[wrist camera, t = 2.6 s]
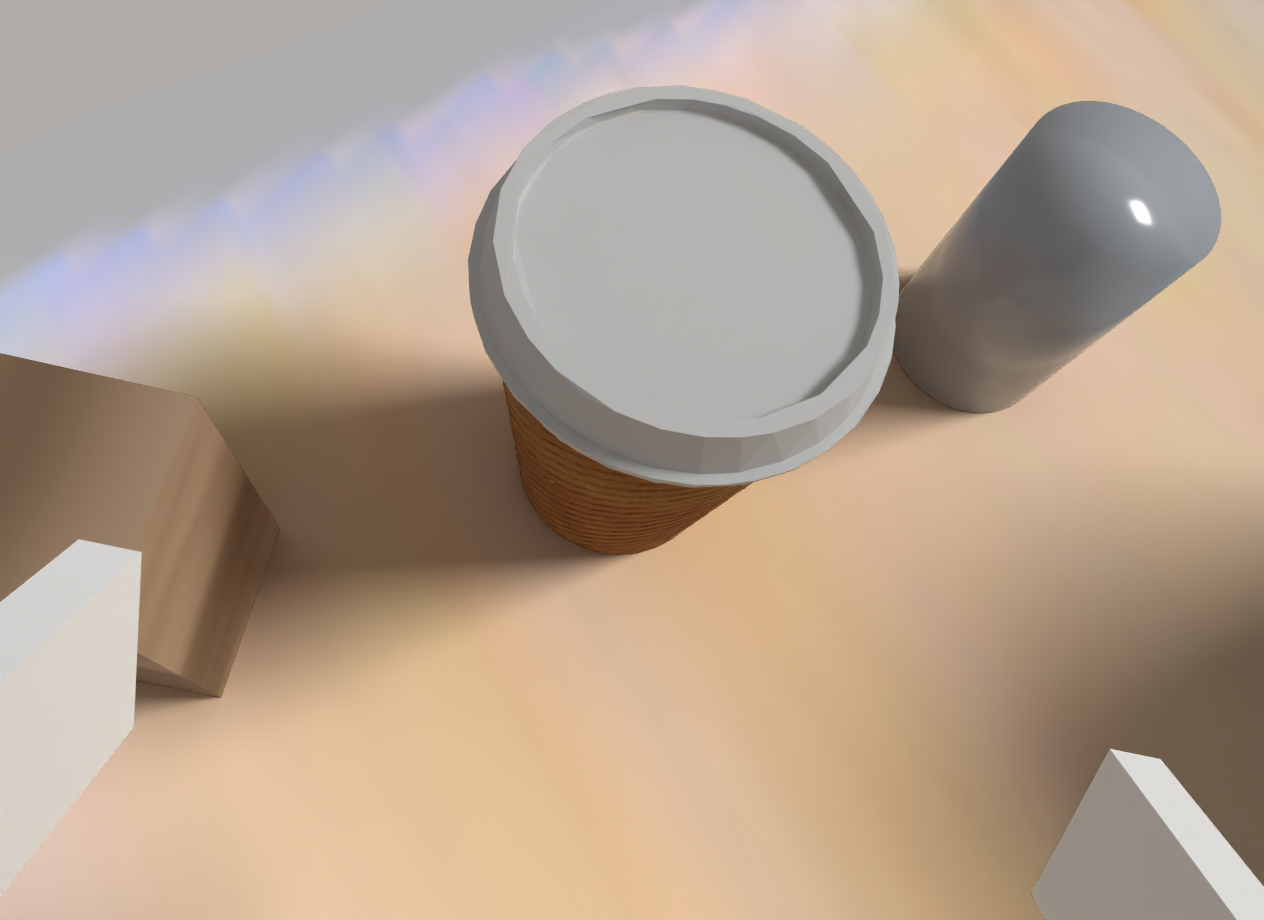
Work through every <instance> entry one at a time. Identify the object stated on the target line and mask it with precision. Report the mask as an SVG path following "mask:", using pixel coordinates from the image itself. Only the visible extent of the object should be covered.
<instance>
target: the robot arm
mask: <svg viewBox="0 0 1264 920" xmlns="http://www.w3.org/2000/svg"><path fill="white" fill-rule="evenodd" d="M141 556H142V552H139V551H134V550H129V549H124V548H119V547H114V546H110V545H105V544H100V543H95V542H90V541H85V540H80V539H78V540H77V541H76V542H75V543H73V544H72V545H71V546H70V547H68V548H67V549H66V550H65V551H63V552H62V553H61V554H60V555H58V556H57V557H56V558H55V559H54V560H52V561H51V562H50V563H49V564H47V565H46V566H45V567H44V568H42V569H41V570H40V571H39V572H37V573H36V574H35V575H34V576H32V577H31V578H30V579H29V580H27V581H26V582H25V583H24V584H22V585H21V586H20V587H19V588H17V589H16V590H15V591H14V592H12V593H11V594H10V595H9V596H7V597H6V598H5V599H4V600H2V601H1V602H0V897H1V895H2V894H3V893H4V892H5V890H6V889H7V888H8V887H9V885H10V884H11V883H12V881H13V880H14V879H15V878H16V876H17V875H18V874H19V873H20V871H21V870H22V869H23V867H24V866H25V865H26V864H27V862H28V861H29V860H30V859H31V857H32V856H33V855H34V853H35V852H36V851H37V850H38V848H39V847H40V846H41V845H42V843H43V842H44V841H45V839H46V838H47V837H48V836H49V834H50V833H51V832H52V831H53V829H54V828H55V827H56V825H57V824H58V823H59V822H60V820H61V819H62V818H63V817H64V815H65V814H66V813H67V812H68V810H69V809H70V808H71V806H72V805H73V804H74V803H75V801H76V800H77V799H78V798H79V796H80V795H81V794H82V792H83V791H84V790H85V789H86V787H87V786H88V785H89V784H90V782H91V781H92V780H93V778H94V777H95V776H96V775H97V773H98V772H99V771H100V770H101V768H102V767H103V766H104V764H105V763H106V762H107V761H108V759H109V758H110V757H111V756H112V754H113V753H114V752H115V751H116V749H117V748H118V747H119V745H120V744H121V743H122V742H123V740H124V739H125V738H126V737H127V735H128V734H129V733H130V731H131V730H132V729H133V728H134V712H135V689H136V667H137V645H138V623H139V601H140V579H141ZM1031 894H1032V896H1033V898H1034V900H1035V902H1036V904H1037V906H1038V908H1039V910H1040V912H1041V914H1042V916H1043V918H1044V920H1264V886H1263V885H1262V884H1261V883H1260V881H1259V880H1258V879H1257V878H1256V877H1255V875H1254V874H1253V873H1252V872H1251V870H1250V869H1249V868H1248V867H1247V865H1246V864H1245V863H1244V862H1243V860H1242V859H1241V858H1240V857H1239V855H1238V854H1237V853H1236V852H1235V851H1234V849H1233V848H1232V847H1231V846H1230V844H1229V843H1228V842H1227V841H1226V839H1225V838H1224V837H1223V836H1222V834H1221V833H1220V832H1219V831H1218V829H1217V828H1216V827H1215V826H1214V825H1213V823H1212V822H1211V821H1210V820H1209V818H1208V817H1207V816H1206V815H1205V813H1204V812H1203V811H1202V810H1201V808H1200V807H1199V806H1198V805H1197V803H1196V802H1195V801H1194V800H1193V799H1192V797H1191V796H1190V795H1189V794H1188V792H1187V791H1186V790H1185V789H1184V787H1183V786H1182V785H1181V784H1180V782H1179V781H1178V780H1177V779H1176V777H1175V776H1174V775H1173V774H1172V773H1171V771H1170V770H1169V769H1168V768H1167V766H1166V765H1165V764H1164V763H1163V761H1162V760H1161V759H1158V758H1153V757H1148V756H1143V755H1138V754H1133V753H1128V752H1123V751H1119V750H1114V749H1109V751H1108V753H1107V755H1106V757H1105V759H1104V760H1103V762H1102V764H1101V766H1100V768H1099V770H1098V771H1097V773H1096V775H1095V777H1094V779H1093V781H1092V783H1091V784H1090V786H1089V788H1088V790H1087V792H1086V794H1085V795H1084V797H1083V799H1082V801H1081V803H1080V805H1079V807H1078V808H1077V810H1076V812H1075V814H1074V816H1073V818H1072V819H1071V821H1070V823H1069V825H1068V827H1067V829H1066V830H1065V832H1064V834H1063V836H1062V838H1061V840H1060V842H1059V843H1058V845H1057V847H1056V849H1055V851H1054V853H1053V854H1052V856H1051V858H1050V860H1049V862H1048V864H1047V866H1046V867H1045V869H1044V871H1043V873H1042V875H1041V877H1040V878H1039V880H1038V882H1037V884H1036V886H1035V888H1034V889H1033V891H1032V893H1031Z"/></svg>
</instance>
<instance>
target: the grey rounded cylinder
mask: <svg viewBox="0 0 1264 920" xmlns="http://www.w3.org/2000/svg"><path fill="white" fill-rule="evenodd" d="M1220 225H1221V209H1220V204H1219V199H1218V196H1217V193H1216V190H1215V187H1214V185H1213V183H1212V181H1211V178H1210V176H1209V175H1208V173H1207V171H1206V170H1205V168H1204V166H1203V165H1202V164H1201V162H1200V161H1199V160H1198V158H1197V157H1196V156H1195V154H1194V153H1193V152H1192V151H1191V150H1190V149H1189V148H1188V147H1187V146H1186V145H1185V144H1184V143H1183V142H1182V141H1181V140H1180V139H1179V138H1178V137H1177V136H1176V135H1174V134H1173V133H1172V132H1170V131H1169V130H1168V129H1167V128H1165V127H1164V126H1162V125H1161V124H1159V123H1158V122H1156V121H1154V120H1153V119H1151V118H1149V117H1147V116H1145V115H1143V114H1141V113H1139V112H1136V111H1134V110H1132V109H1129V108H1126V107H1123V106H1120V105H1115V104H1111V103H1106V102H1098V101H1080V102H1072V103H1069V104H1065V105H1062V106H1059V107H1057V108H1055V109H1053V110H1051V111H1050V112H1048V113H1047V114H1045V115H1044V116H1043V117H1042V118H1041V119H1040V120H1039V121H1038V122H1037V123H1036V124H1035V126H1034V127H1033V128H1032V129H1031V130H1030V132H1029V133H1028V134H1027V135H1026V137H1025V138H1024V139H1023V140H1022V142H1021V143H1020V144H1019V145H1018V147H1017V148H1016V149H1015V150H1014V151H1013V153H1012V154H1011V155H1010V156H1009V158H1008V159H1007V160H1006V161H1005V163H1004V164H1003V165H1002V166H1001V168H1000V169H999V170H998V171H997V173H996V174H995V175H994V176H993V177H992V179H991V180H990V181H989V182H988V184H987V185H986V186H985V187H984V189H983V190H982V191H981V192H980V194H979V195H978V196H977V197H976V198H975V200H974V201H973V202H972V203H971V205H970V206H969V207H968V208H967V210H966V211H965V212H964V213H963V215H962V216H961V217H960V218H959V219H958V221H957V222H956V223H955V224H954V226H953V227H952V228H951V229H950V231H949V232H948V233H947V234H946V236H945V237H944V238H943V239H942V241H941V242H940V243H939V244H938V245H937V247H936V248H935V249H934V250H933V252H932V253H931V254H930V255H929V257H928V258H927V259H926V260H925V262H924V263H923V264H922V265H921V266H920V268H919V269H918V270H917V271H916V273H915V274H914V275H913V276H912V278H911V279H910V280H909V281H908V283H907V284H906V285H905V286H904V287H903V289H902V290H901V291H900V293H899V302H898V307H897V312H896V317H895V323H896V328H895V336H894V344H893V351H894V354H895V356H896V358H897V360H898V362H899V364H900V366H901V367H902V369H903V370H904V371H905V373H906V374H907V376H908V377H909V378H910V379H911V380H912V381H913V382H914V383H915V384H916V385H917V386H918V387H919V388H920V389H921V390H922V391H923V392H925V393H926V394H928V395H929V396H930V397H932V398H933V399H935V400H937V401H939V402H941V403H942V404H945V405H947V406H949V407H952V408H955V409H958V410H961V411H966V412H972V413H991V412H996V411H1001V410H1003V409H1006V408H1009V407H1011V406H1012V405H1014V404H1016V403H1017V402H1019V401H1020V400H1021V399H1023V398H1024V397H1025V396H1026V395H1028V394H1029V393H1030V392H1032V391H1033V390H1034V389H1036V388H1037V387H1038V386H1039V385H1041V384H1042V383H1043V382H1045V381H1046V380H1047V379H1049V378H1050V377H1051V376H1052V375H1054V374H1055V373H1056V372H1058V371H1059V370H1060V369H1062V368H1063V367H1064V366H1065V365H1067V364H1068V363H1069V362H1071V361H1072V360H1073V359H1074V358H1076V357H1077V356H1078V355H1080V354H1081V353H1082V352H1084V351H1085V350H1086V349H1087V348H1089V347H1090V346H1091V345H1093V344H1094V343H1095V342H1097V341H1098V340H1099V339H1100V338H1102V337H1103V336H1104V335H1106V334H1107V333H1108V332H1109V331H1111V330H1112V329H1113V328H1115V327H1116V326H1117V325H1119V324H1120V323H1121V322H1122V321H1124V320H1125V319H1126V318H1128V317H1129V316H1130V315H1132V314H1133V313H1134V312H1135V311H1137V310H1138V309H1139V308H1141V307H1142V306H1143V305H1144V304H1146V303H1147V302H1148V301H1150V300H1151V299H1152V298H1154V297H1155V296H1156V295H1157V294H1159V293H1160V292H1161V291H1163V290H1164V289H1165V288H1167V287H1168V286H1169V285H1170V284H1172V283H1173V282H1174V281H1176V280H1177V279H1178V278H1179V277H1181V276H1182V275H1183V274H1185V273H1186V272H1187V271H1189V270H1190V269H1191V268H1192V267H1194V266H1195V265H1196V264H1198V263H1199V262H1200V261H1201V260H1202V259H1204V258H1205V257H1206V256H1207V255H1208V254H1209V252H1210V251H1211V250H1212V249H1213V247H1214V245H1215V243H1216V241H1217V238H1218V235H1219V232H1220Z"/></svg>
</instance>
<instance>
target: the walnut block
mask: <svg viewBox="0 0 1264 920" xmlns="http://www.w3.org/2000/svg"><path fill="white" fill-rule="evenodd" d="M278 532H279V527H278V525H277V524H276V522H275V521H274V519H273V517H272V516H271V514H270V513H269V511H268V509H267V508H266V506H265V505H264V503H263V501H262V500H261V498H260V497H259V495H258V493H257V492H256V490H255V489H254V487H253V485H252V484H251V482H250V481H249V479H248V477H247V476H246V474H245V473H244V471H243V469H242V468H241V466H240V465H239V463H238V461H237V460H236V458H235V457H234V455H233V453H232V452H231V450H230V449H229V447H228V445H227V444H226V442H225V441H224V439H223V437H222V436H221V434H220V433H219V431H218V429H217V428H216V426H215V425H214V423H213V421H212V420H211V418H210V416H209V415H208V413H207V412H206V410H205V408H204V407H203V405H202V404H201V402H200V400H199V399H198V397H194V396H190V395H185V394H181V393H176V392H172V391H167V390H163V389H158V388H154V387H149V386H145V385H141V384H136V383H132V382H127V381H123V380H118V379H114V378H109V377H105V376H100V375H96V374H91V373H87V372H82V371H78V370H73V369H69V368H64V367H60V366H55V365H51V364H46V363H42V362H37V361H33V360H28V359H24V358H19V357H15V356H10V355H6V354H1V353H0V602H1V601H2V600H4V599H5V598H6V597H7V596H9V595H10V594H11V593H12V592H14V591H15V590H16V589H17V588H19V587H20V586H21V585H22V584H24V583H25V582H26V581H27V580H29V579H30V578H31V577H32V576H34V575H35V574H36V573H37V572H39V571H40V570H41V569H42V568H44V567H45V566H46V565H47V564H49V563H50V562H51V561H52V560H54V559H55V558H56V557H57V556H58V555H60V554H61V553H62V552H63V551H65V550H66V549H67V548H68V547H70V546H71V545H72V544H73V543H75V542H76V541H77V540H78V539H80V540H85V541H90V542H95V543H100V544H105V545H110V546H114V547H119V548H124V549H129V550H134V551H139V552H142V556H141V579H140V601H139V623H138V645H137V667H136V681H139V682H144V683H149V684H154V685H160V686H165V687H170V688H175V689H180V690H185V691H191V692H196V693H201V694H206V695H211V696H216V697H221V696H222V693H223V690H224V688H225V685H226V682H227V679H228V676H229V673H230V670H231V667H232V664H233V662H234V659H235V656H236V653H237V650H238V647H239V644H240V641H241V639H242V636H243V633H244V630H245V627H246V624H247V621H248V618H249V616H250V613H251V610H252V607H253V604H254V601H255V598H256V595H257V593H258V590H259V587H260V584H261V581H262V578H263V575H264V572H265V570H266V567H267V564H268V561H269V558H270V555H271V552H272V549H273V547H274V544H275V541H276V538H277V535H278Z"/></svg>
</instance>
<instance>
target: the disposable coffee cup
mask: <svg viewBox="0 0 1264 920" xmlns="http://www.w3.org/2000/svg"><path fill="white" fill-rule="evenodd" d="M468 266H469V290H470V300H471V306H472V310H473V314H474V319H475V322H476V325H477V328H478V331H479V334H480V337H481V340H482V343H483V346H484V349H485V352H486V353H487V355H488V357H489V358H490V360H491V361H492V363H493V365H494V366H495V368H496V369H497V371H498V373H499V374H500V376H501V377H502V379H503V386H504V389H505V395H506V399H507V404H508V410H509V417H510V423H511V426H512V433H513V436H514V441H515V449H516V452H517V458H518V462H519V466H520V475H521V479H522V483H523V487H524V491H525V493H526V494H527V496H528V498H529V500H530V502H531V504H532V505H533V507H534V509H535V510H536V512H537V513H538V514H539V516H540V517H541V518H542V519H543V520H544V522H545V523H546V524H547V525H548V526H550V527H551V528H552V529H553V530H555V531H556V532H557V533H558V534H559V535H561V536H562V537H563V538H565V539H567V540H569V541H571V542H573V543H575V544H577V545H579V546H582V547H584V548H587V549H590V550H593V551H597V552H601V553H610V554H630V553H639V552H642V551H646V550H649V549H653V548H656V547H658V546H660V545H662V544H664V543H666V542H668V541H669V540H671V539H673V538H674V537H675V536H677V535H678V534H679V533H681V532H682V531H683V530H685V529H686V528H688V527H689V526H691V525H692V524H694V523H695V522H696V521H698V520H699V519H701V518H702V517H704V516H705V515H707V514H708V513H709V512H710V511H712V510H714V509H715V508H717V507H718V506H720V505H721V504H722V503H724V502H725V501H727V500H728V499H729V498H731V497H732V496H733V495H735V494H736V493H738V492H740V491H741V490H743V489H745V488H746V487H747V486H748V485H750V484H751V483H753V482H756V481H759V480H763V479H766V478H769V477H773V476H776V475H779V474H782V473H786V472H789V471H792V470H795V469H797V468H798V467H800V466H802V465H803V464H805V463H807V462H809V461H810V460H812V459H814V458H815V457H817V456H819V455H821V454H822V453H824V452H826V451H827V450H829V449H830V448H831V447H832V446H833V445H834V444H836V443H837V442H838V441H839V440H840V439H841V438H842V437H844V436H845V435H846V434H847V433H848V432H849V431H851V430H852V429H853V428H854V427H855V426H856V425H857V424H858V422H859V421H860V420H861V418H862V417H863V415H864V414H865V412H866V411H867V409H868V408H869V406H870V405H871V403H872V402H873V400H874V399H875V397H876V396H877V394H878V393H879V391H880V389H881V386H882V383H883V381H884V378H885V375H886V372H887V370H888V367H889V364H890V361H891V358H892V352H893V344H894V336H895V328H896V323H895V317H896V312H897V307H898V302H899V275H898V269H897V262H896V256H895V249H894V245H893V243H892V240H891V237H890V234H889V232H888V229H887V226H886V224H885V221H884V218H883V216H882V214H881V212H880V210H879V209H878V207H877V205H876V203H875V201H874V200H873V198H872V196H871V194H870V193H869V192H868V190H867V189H866V188H865V186H864V185H863V183H862V182H861V181H860V179H859V178H858V177H857V175H856V174H855V173H854V171H853V170H852V169H851V168H850V167H849V166H848V165H847V164H846V163H845V162H844V161H843V160H842V159H841V158H840V157H839V156H838V155H837V154H836V153H835V152H834V151H833V150H832V149H831V148H830V147H829V146H827V145H826V144H825V143H823V142H822V141H821V140H820V139H818V138H817V137H816V136H814V135H813V134H812V133H810V132H809V131H808V130H806V129H805V128H804V127H802V126H801V125H799V124H797V123H795V122H793V121H791V120H789V119H787V118H784V117H782V116H780V115H778V114H776V113H774V112H772V111H770V110H768V109H766V108H764V107H762V106H760V105H758V104H756V103H754V102H752V101H750V100H748V99H744V98H741V97H737V96H733V95H730V94H726V93H722V92H719V91H714V90H707V89H700V88H694V87H687V86H662V87H640V88H633V89H629V90H624V91H619V92H614V93H609V94H606V95H603V96H600V97H598V98H595V99H592V100H590V101H587V102H584V103H582V104H580V105H579V106H577V107H575V108H573V109H572V110H570V111H568V112H566V113H564V114H563V115H561V116H559V117H557V118H556V119H554V120H553V121H552V122H551V123H550V124H548V125H547V126H546V127H545V128H544V129H543V130H542V131H541V132H540V133H539V134H538V135H537V136H536V137H535V138H534V139H533V140H532V141H531V142H530V143H529V144H528V145H526V146H525V147H524V148H523V150H522V152H521V154H520V155H519V157H518V159H517V160H516V161H515V163H514V164H513V165H512V166H511V167H510V169H509V170H508V171H507V172H506V173H505V174H504V176H503V177H502V178H501V179H500V180H499V182H498V183H497V184H496V185H495V186H494V187H493V189H492V190H491V191H490V194H489V196H488V198H487V200H486V202H485V205H484V207H483V209H482V211H481V213H480V216H479V218H478V220H477V222H476V225H475V230H474V235H473V239H472V244H471V249H470V254H469V259H468Z"/></svg>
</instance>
